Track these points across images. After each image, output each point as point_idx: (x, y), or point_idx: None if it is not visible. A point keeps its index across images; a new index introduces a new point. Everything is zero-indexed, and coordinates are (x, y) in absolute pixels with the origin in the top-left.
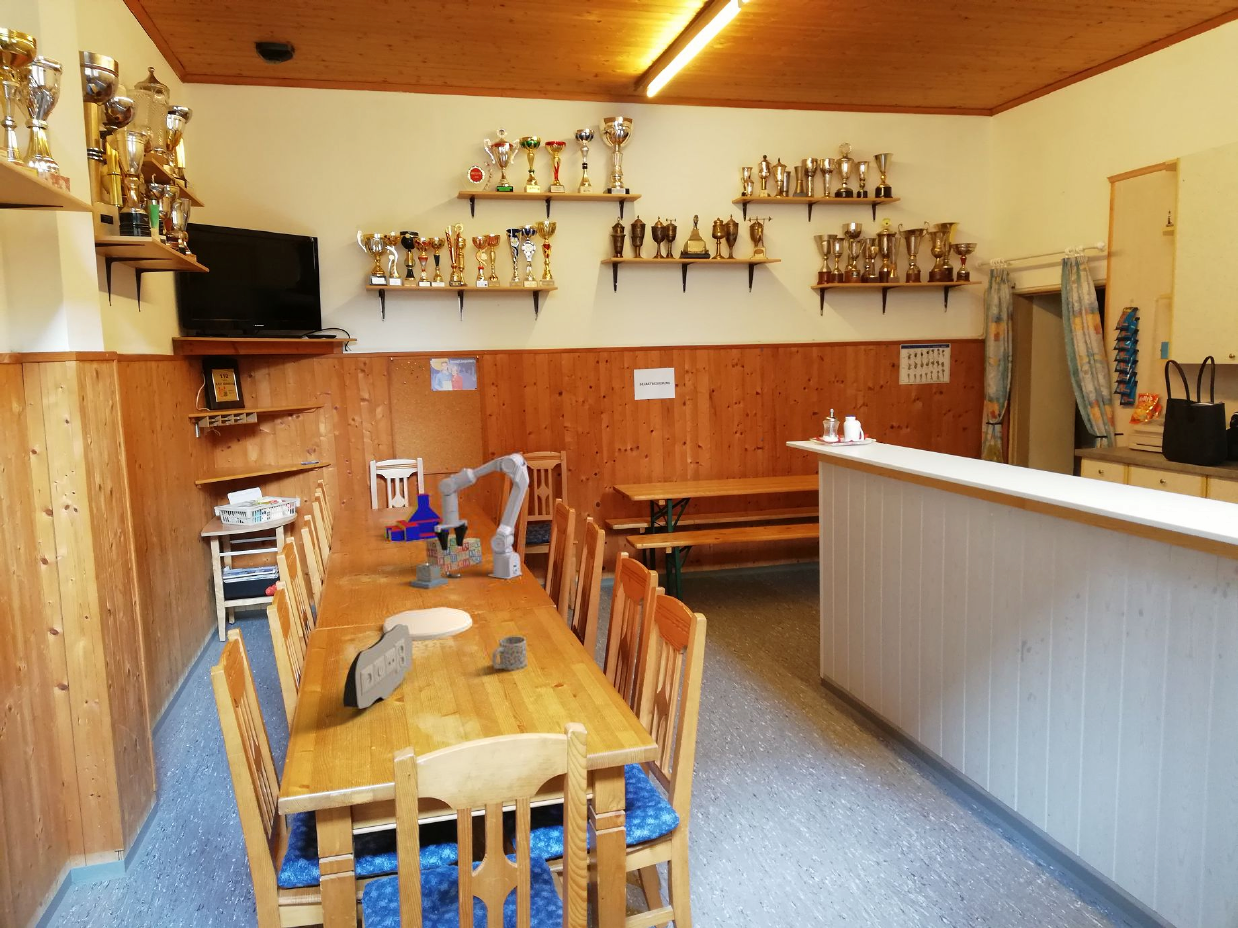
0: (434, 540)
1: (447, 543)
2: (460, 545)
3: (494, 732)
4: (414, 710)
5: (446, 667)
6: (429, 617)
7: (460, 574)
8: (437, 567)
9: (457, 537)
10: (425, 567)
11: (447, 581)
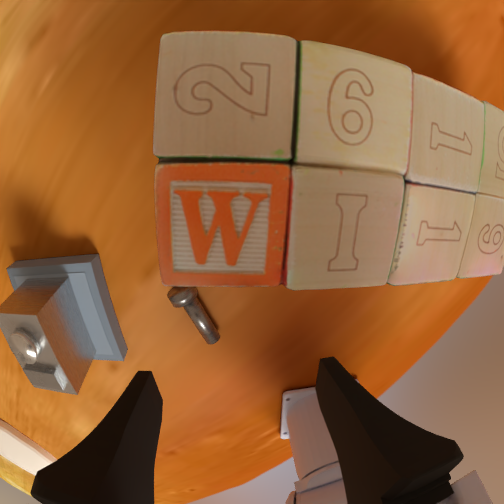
0: (210, 171)
1: (153, 450)
2: (317, 389)
3: None
4: (3, 474)
5: (23, 477)
6: (13, 462)
7: (214, 341)
8: (65, 389)
9: (345, 419)
10: (20, 362)
11: (124, 353)
